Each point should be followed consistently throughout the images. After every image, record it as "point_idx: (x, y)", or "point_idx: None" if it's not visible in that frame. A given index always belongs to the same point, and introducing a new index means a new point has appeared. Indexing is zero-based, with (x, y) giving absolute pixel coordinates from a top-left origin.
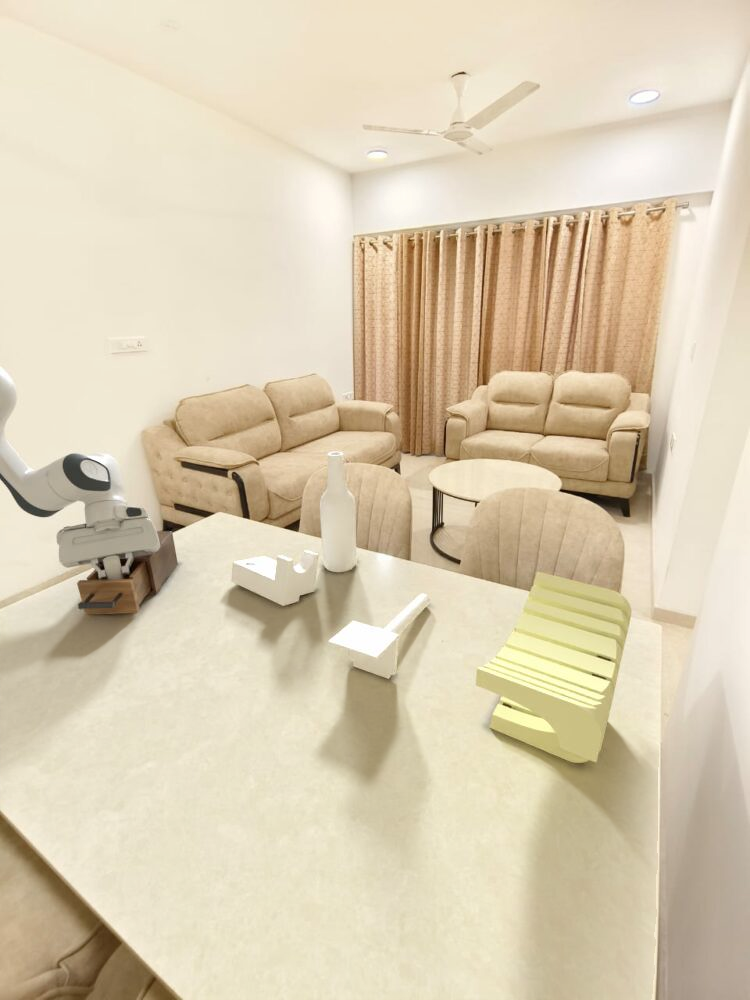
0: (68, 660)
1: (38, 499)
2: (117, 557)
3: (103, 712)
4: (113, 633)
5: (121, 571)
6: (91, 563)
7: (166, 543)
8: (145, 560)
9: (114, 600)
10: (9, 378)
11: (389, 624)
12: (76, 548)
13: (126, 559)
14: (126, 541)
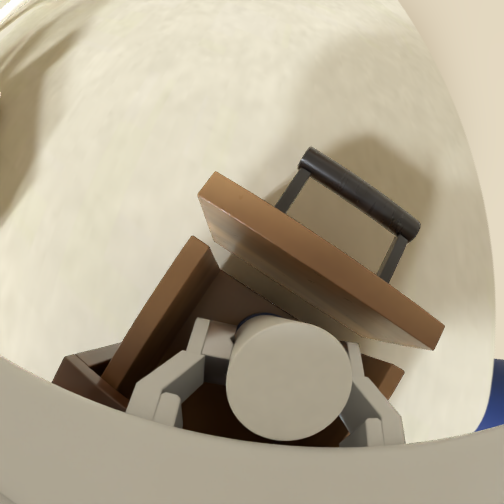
0: (398, 144)
1: None
2: (239, 380)
3: (327, 13)
4: None
5: (235, 341)
6: (401, 421)
7: None
8: (91, 372)
9: (300, 175)
10: None
11: (9, 3)
12: (484, 502)
13: None
14: (116, 498)
